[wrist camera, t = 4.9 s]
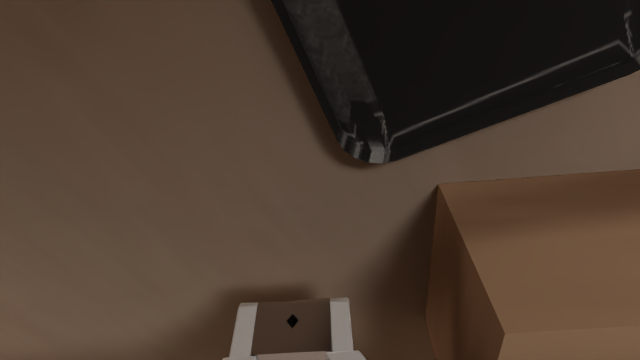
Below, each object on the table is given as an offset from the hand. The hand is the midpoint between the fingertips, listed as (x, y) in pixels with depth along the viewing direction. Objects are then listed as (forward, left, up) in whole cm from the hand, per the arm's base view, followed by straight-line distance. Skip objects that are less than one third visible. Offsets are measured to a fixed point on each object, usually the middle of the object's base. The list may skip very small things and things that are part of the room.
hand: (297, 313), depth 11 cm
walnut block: (0, +7, -2) cm, 8 cm away
